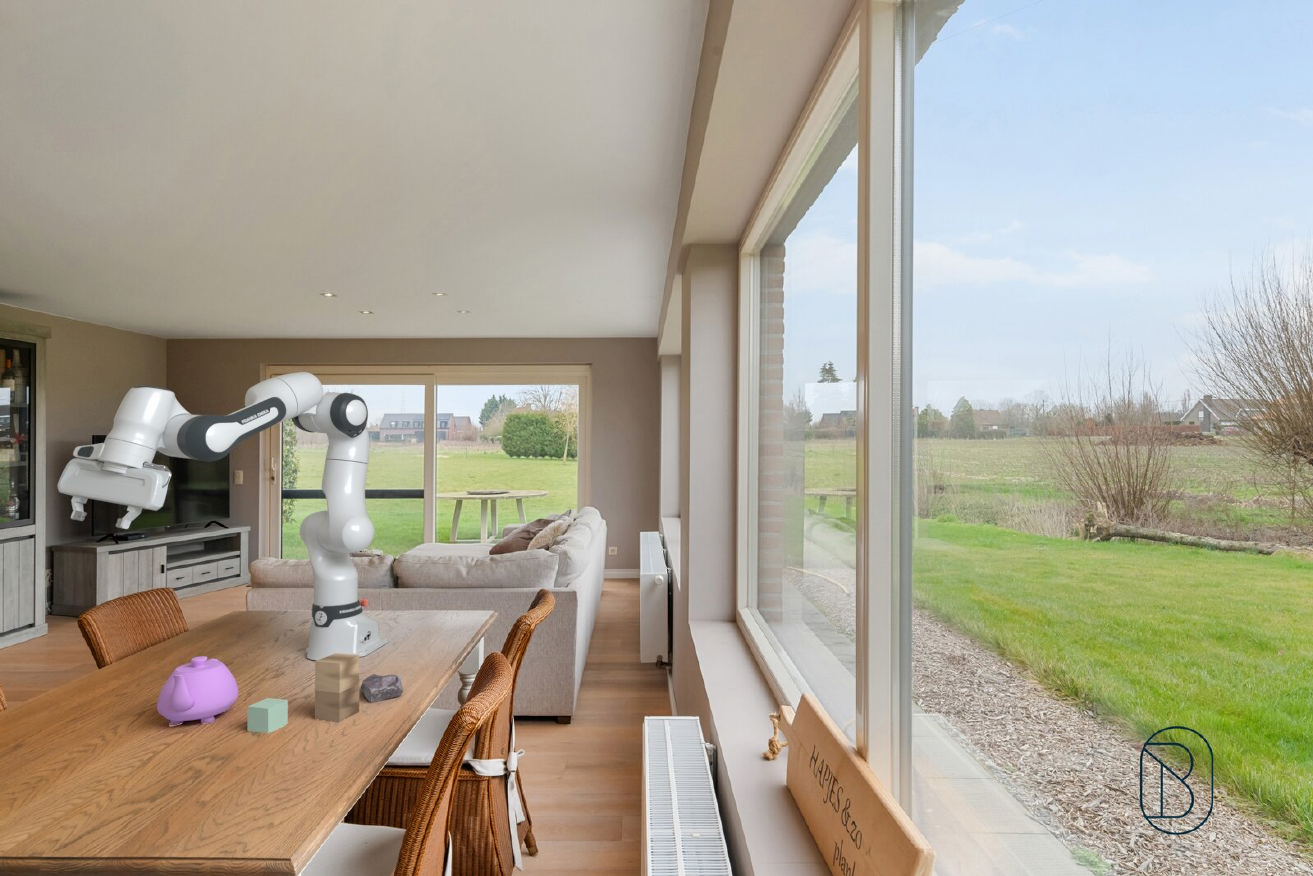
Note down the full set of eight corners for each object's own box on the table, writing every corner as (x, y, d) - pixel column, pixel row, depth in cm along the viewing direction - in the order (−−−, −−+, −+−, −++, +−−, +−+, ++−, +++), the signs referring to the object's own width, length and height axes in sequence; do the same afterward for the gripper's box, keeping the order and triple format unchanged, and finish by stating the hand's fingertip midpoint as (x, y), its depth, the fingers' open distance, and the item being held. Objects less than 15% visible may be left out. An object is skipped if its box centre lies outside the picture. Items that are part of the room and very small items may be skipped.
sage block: (267, 722, 143) (267, 698, 143) (287, 724, 141) (287, 700, 141) (247, 732, 138) (247, 706, 138) (268, 734, 137) (268, 708, 137)
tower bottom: (335, 709, 150) (335, 681, 150) (359, 712, 148) (359, 683, 148) (314, 719, 144) (315, 690, 144) (339, 722, 142) (339, 693, 142)
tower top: (335, 681, 150) (335, 653, 150) (359, 683, 148) (359, 655, 148) (315, 690, 144) (315, 661, 144) (339, 693, 142) (339, 663, 143)
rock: (392, 685, 166) (391, 665, 166) (407, 698, 157) (406, 678, 157) (355, 692, 161) (355, 672, 161) (369, 707, 152) (369, 686, 152)
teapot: (213, 735, 136) (213, 671, 136) (131, 742, 133) (132, 676, 133) (252, 700, 155) (252, 644, 156) (181, 704, 153) (182, 647, 153)
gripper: (183, 470, 146) (159, 535, 142) (91, 454, 147) (64, 518, 143) (163, 463, 140) (137, 530, 136) (67, 446, 141) (38, 512, 137)
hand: (99, 524), depth 140 cm, fingers open, 8 cm apart
